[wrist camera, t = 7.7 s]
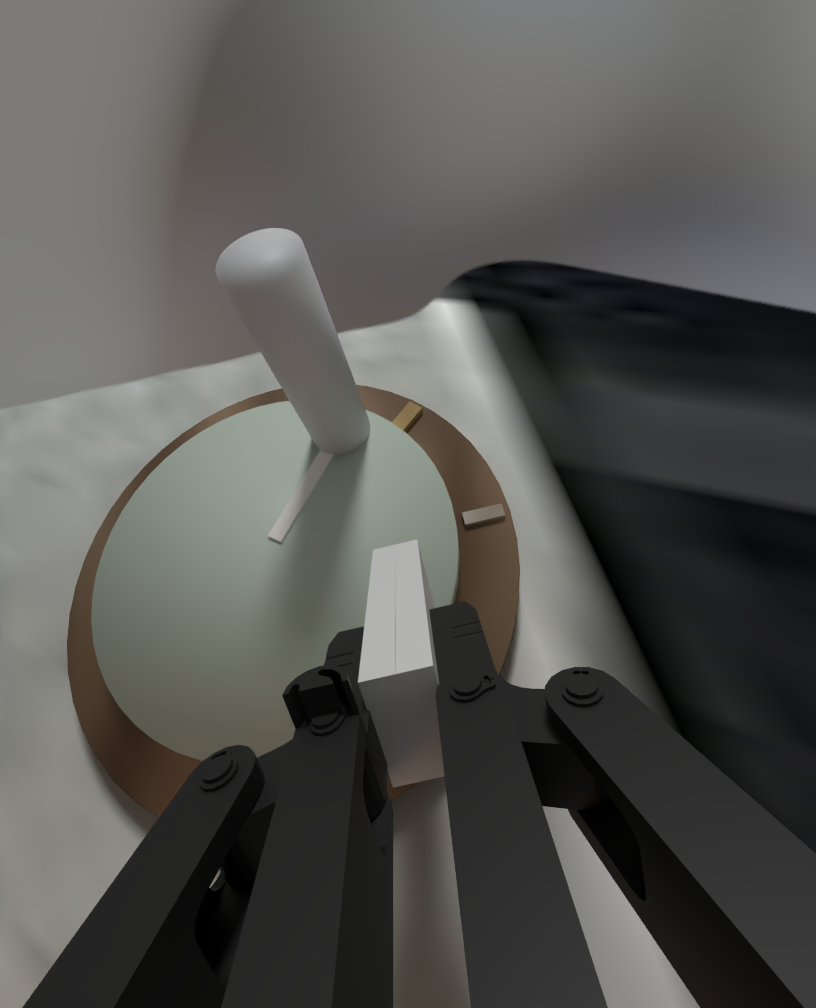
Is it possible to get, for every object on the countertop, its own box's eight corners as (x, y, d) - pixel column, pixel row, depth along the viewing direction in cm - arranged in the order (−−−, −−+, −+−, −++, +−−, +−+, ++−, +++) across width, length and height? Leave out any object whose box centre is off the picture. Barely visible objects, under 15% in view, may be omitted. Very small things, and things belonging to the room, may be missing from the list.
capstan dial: (352, 852, 16) (161, 1013, 7) (48, 654, 21) (-306, 588, 12) (513, 472, 22) (533, 268, 12) (242, 387, 27) (108, 197, 17)
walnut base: (53, 886, 18) (18, 897, 17) (112, 446, 28) (93, 432, 26) (590, 774, 17) (599, 778, 16) (456, 359, 27) (455, 339, 25)
